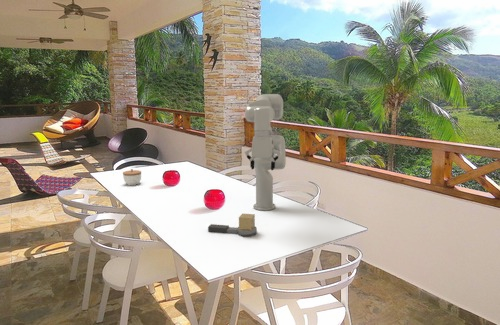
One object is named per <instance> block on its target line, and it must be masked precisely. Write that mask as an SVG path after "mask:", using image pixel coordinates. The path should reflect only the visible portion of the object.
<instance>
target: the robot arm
mask: <svg viewBox="0 0 500 325" xmlns="http://www.w3.org/2000/svg"><path fill="white" fill-rule="evenodd" d="M245 107H246V108H245V112H244V117H245V120H246V121H247V122H249V123H253V124H254V126H253V128H254V129H253V130H254V132H253V133H254V136H253V137H252V142H251V143H252V144H251V148H250V149H247V150H246V151H244V155H245V156H246V158H247V159H248V160H249V163H250V165H249V166H250V168H251V170H255V204H253V209H254V210H257V211H272V210H275V209H276V208H277V207H276V204H275V203H274V178H273V177H274V176H273V175H272V173H271V172H270V171H269V170H271V171H273V170H284V168H286V164H287V163H286V161H287V160H286V141H285V138H284V137H285V136H283V135H278V134H274V131H273V129H272V126H271V122H272V121H273V120H280V119H282V118H283V115H284V99H283V97H282V95H281V94H279V93H263V94H260V95H258V96H257V98H256V100H255V101H252V102H249V103H248V104H246V106H245ZM249 153H251V155H250V154H249Z"/></svg>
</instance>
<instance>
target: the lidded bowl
mask: <svg viewBox="0 0 500 325" xmlns="http://www.w3.org/2000/svg"><path fill="white" fill-rule="evenodd" d="M122 175H123V177H122V178H123V181H124V182H125V184H127V186H130V185H132V186H137V185H136V184H138V185H139V183H140V182H141V180H142V170H139V169H138V170H136V169H130V170H126V171H122Z"/></svg>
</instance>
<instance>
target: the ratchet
mask: <svg viewBox="0 0 500 325" xmlns="http://www.w3.org/2000/svg"><path fill="white" fill-rule="evenodd" d="M207 231H208V233H219V234H235V235H238V236H240V237H244V238H249V237H251V238H252V237H254V236H256V235H257V233H258V231H257V227H256V226H255V227H254V228H253V230H252V231H247V230H239V226H238V227H235V226H233V227H231V226H229V225H225V224H215V223H214V224H213V223H211V224H210V225H208V227H207Z"/></svg>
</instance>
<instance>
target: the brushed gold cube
mask: <svg viewBox="0 0 500 325" xmlns="http://www.w3.org/2000/svg"><path fill="white" fill-rule="evenodd" d="M255 216H256V215H255V213H241V214H240V215H239V216H238V227H239V230H247V231H252V230H253V228H254V227H256V221H255V220H256V219H255Z"/></svg>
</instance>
